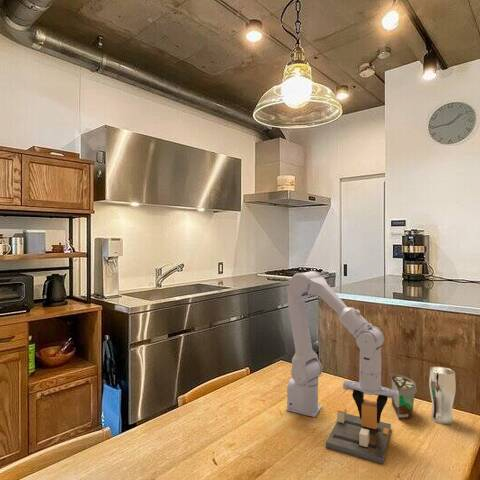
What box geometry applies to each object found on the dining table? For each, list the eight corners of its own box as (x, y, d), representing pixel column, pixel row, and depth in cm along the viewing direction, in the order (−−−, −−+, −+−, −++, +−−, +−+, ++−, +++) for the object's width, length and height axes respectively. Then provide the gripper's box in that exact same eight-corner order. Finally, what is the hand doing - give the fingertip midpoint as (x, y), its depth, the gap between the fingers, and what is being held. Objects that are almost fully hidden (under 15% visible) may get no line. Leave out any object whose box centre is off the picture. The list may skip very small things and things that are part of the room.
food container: (422, 424, 105) (422, 390, 105) (399, 422, 106) (400, 388, 106) (410, 404, 117) (410, 374, 117) (390, 403, 118) (391, 373, 118)
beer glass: (452, 415, 110) (452, 367, 110) (458, 427, 103) (458, 376, 103) (427, 412, 112) (427, 365, 112) (431, 423, 106) (431, 373, 105)
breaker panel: (325, 447, 93) (325, 441, 93) (341, 417, 109) (341, 411, 109) (382, 464, 86) (382, 457, 86) (390, 429, 102) (390, 423, 102)
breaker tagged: (337, 421, 103) (337, 410, 103) (339, 416, 106) (339, 405, 106) (344, 423, 102) (344, 411, 102) (346, 418, 105) (346, 407, 105)
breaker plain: (359, 445, 91) (359, 433, 91) (361, 439, 94) (361, 428, 94) (367, 447, 90) (367, 435, 90) (369, 441, 93) (369, 430, 93)
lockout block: (361, 425, 100) (361, 404, 99) (363, 419, 103) (364, 398, 103) (376, 429, 98) (376, 407, 98) (378, 422, 101) (378, 401, 101)
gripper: (340, 371, 100) (340, 419, 100) (396, 381, 93) (396, 433, 93) (346, 363, 106) (346, 408, 106) (399, 372, 99) (398, 420, 99)
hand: (369, 419), depth 100 cm, fingers closed on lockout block, 4 cm apart
